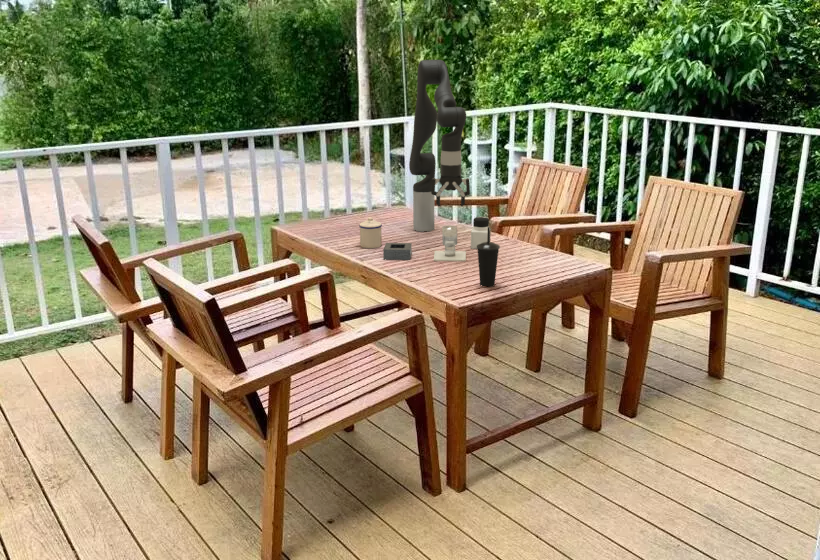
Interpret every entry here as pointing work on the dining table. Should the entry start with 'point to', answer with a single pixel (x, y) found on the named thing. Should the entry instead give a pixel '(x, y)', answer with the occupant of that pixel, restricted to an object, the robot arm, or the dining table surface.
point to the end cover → (449, 239)
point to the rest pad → (458, 257)
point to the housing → (397, 251)
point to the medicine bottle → (479, 231)
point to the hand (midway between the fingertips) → (450, 206)
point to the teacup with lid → (370, 234)
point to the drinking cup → (487, 261)
